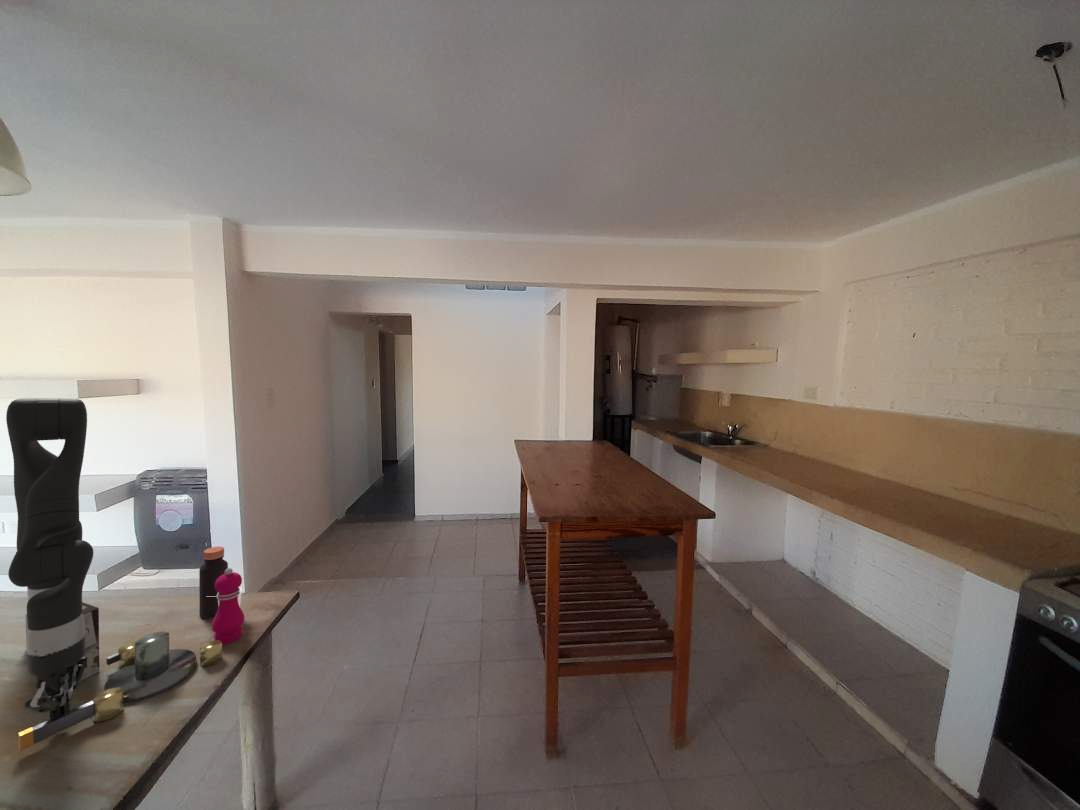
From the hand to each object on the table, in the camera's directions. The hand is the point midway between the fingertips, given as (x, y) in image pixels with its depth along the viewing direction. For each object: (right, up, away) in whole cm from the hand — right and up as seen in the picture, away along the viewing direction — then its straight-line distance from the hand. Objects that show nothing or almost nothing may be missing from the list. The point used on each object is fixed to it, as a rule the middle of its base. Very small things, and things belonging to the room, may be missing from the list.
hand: (60, 720), depth 82 cm
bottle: (-2, 0, +42) cm, 42 cm away
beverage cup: (+5, 0, +38) cm, 38 cm away
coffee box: (-15, -1, +15) cm, 21 cm away
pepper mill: (+11, -1, +31) cm, 32 cm away
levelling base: (+4, -1, +16) cm, 17 cm away
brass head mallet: (+3, -2, 0) cm, 3 cm away
